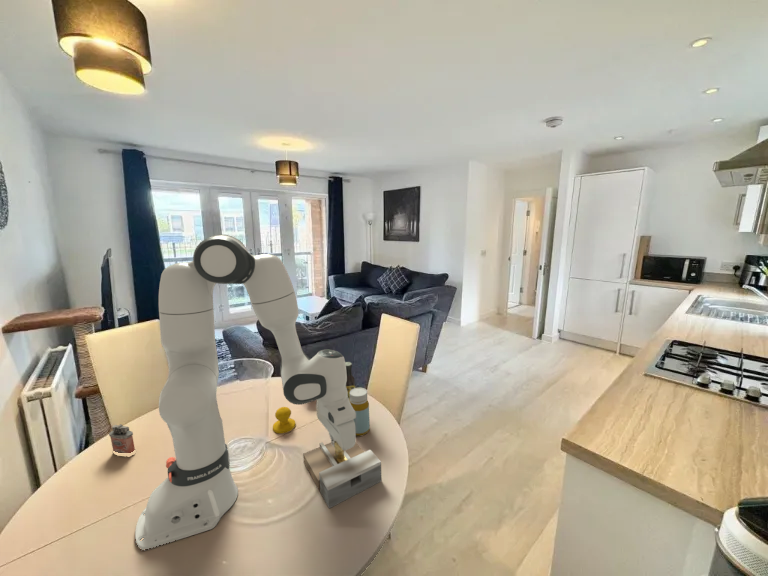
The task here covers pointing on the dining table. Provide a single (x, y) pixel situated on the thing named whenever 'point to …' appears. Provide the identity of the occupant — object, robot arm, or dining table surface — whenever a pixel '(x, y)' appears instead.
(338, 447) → the bolt
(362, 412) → the bottle
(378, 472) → the door latch block
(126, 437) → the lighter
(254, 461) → the dining table surface
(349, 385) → the sauce bottle
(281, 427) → the doorknob
